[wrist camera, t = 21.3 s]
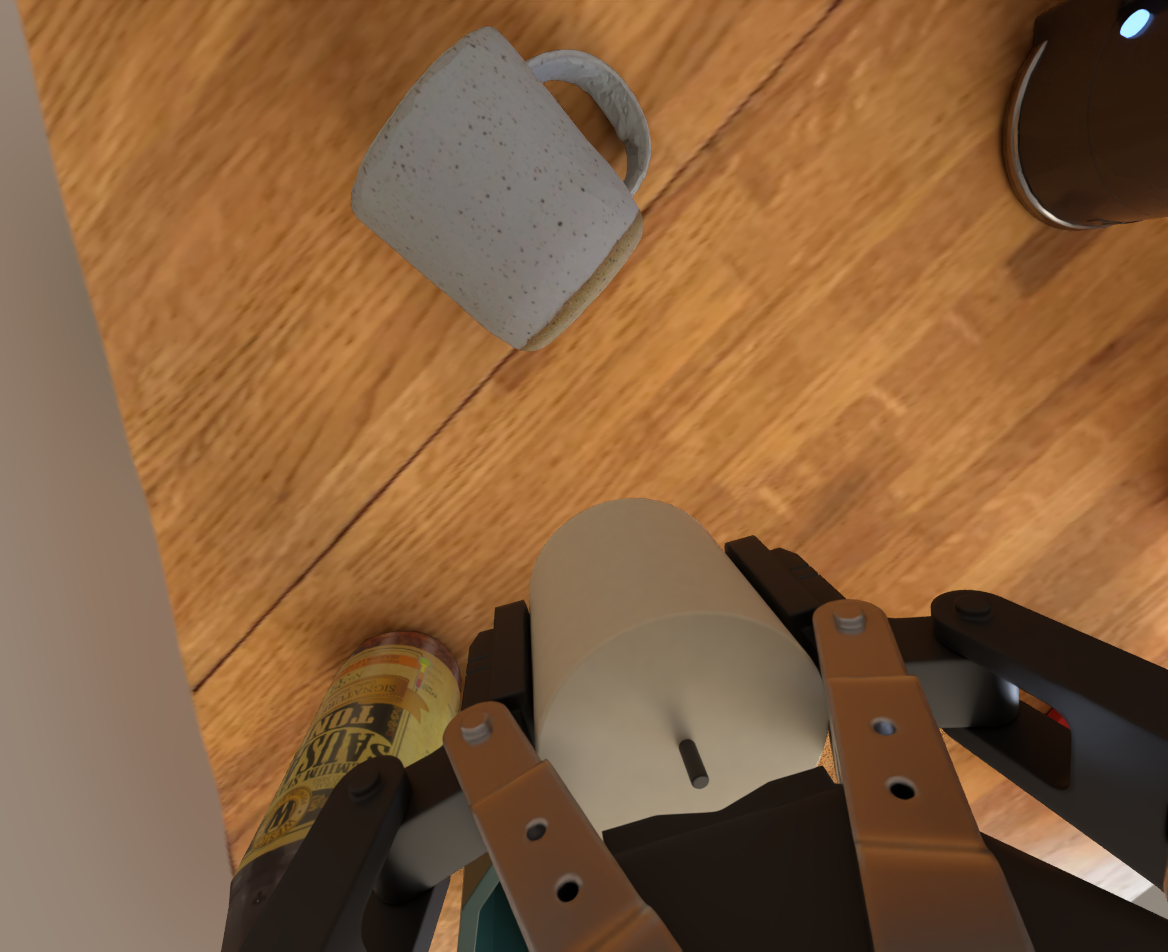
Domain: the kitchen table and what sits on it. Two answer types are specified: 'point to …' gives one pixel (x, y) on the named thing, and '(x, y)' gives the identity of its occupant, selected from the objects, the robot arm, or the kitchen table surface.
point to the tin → (486, 912)
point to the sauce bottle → (348, 752)
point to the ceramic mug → (507, 186)
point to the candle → (662, 669)
